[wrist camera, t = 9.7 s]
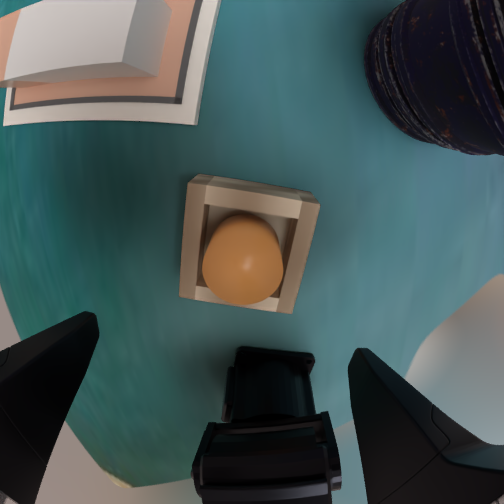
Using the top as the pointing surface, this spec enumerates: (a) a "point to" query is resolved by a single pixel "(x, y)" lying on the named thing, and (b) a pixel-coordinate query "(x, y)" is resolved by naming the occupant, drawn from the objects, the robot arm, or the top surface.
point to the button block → (253, 203)
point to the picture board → (133, 81)
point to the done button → (243, 260)
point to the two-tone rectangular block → (82, 41)
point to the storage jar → (442, 72)
